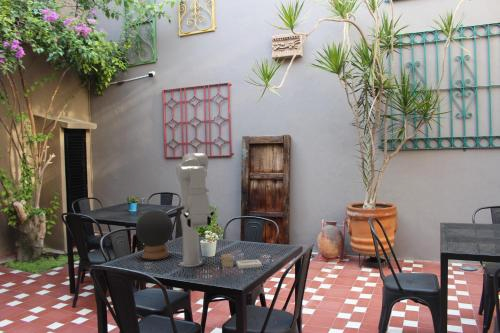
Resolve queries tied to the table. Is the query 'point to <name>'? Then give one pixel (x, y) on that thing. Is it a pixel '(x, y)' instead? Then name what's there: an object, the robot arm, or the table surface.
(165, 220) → the decorative object
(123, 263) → the table surface
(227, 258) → the oak cube
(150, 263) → the table surface
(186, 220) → the robot arm
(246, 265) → the dish
